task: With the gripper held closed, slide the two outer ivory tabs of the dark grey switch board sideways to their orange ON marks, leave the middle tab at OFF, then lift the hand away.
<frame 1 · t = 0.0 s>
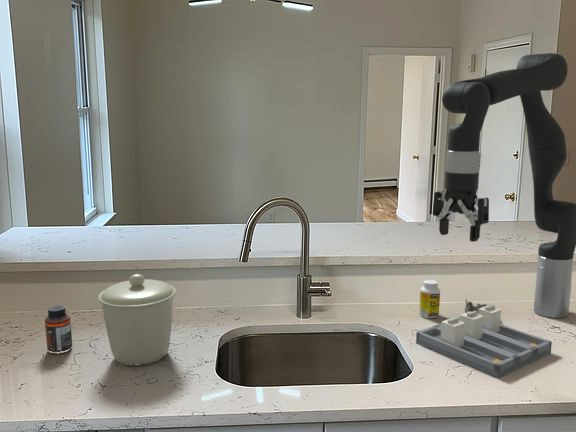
hand: (458, 237, 138), 29 cm above the worktop, tool pointing down, fingers open, 8 cm apart
switch board: (481, 348, 146), on the worktop
supplement bottle: (429, 316, 169), on the worktop
tab 3: (452, 332, 144), point 5 cm above the worktop, slide at 0.0 cm
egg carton: (479, 319, 166), on the worktop
tab 1: (489, 318, 152), point 5 cm above the worktop, slide at 0.0 cm
supplement bottle 2: (60, 350, 147), on the worktop
canister: (141, 357, 143), on the worktop
tab 2: (471, 325, 148), point 5 cm above the worktop, slide at 0.0 cm
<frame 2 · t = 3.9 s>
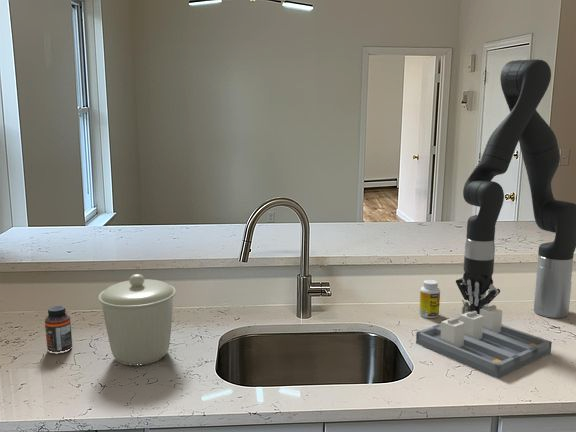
hand: (475, 317, 156), 4 cm above the worktop, tool pointing down, fingers closed
tab 1: (490, 319, 152), point 5 cm above the worktop, slide at 0.4 cm, touching gripper
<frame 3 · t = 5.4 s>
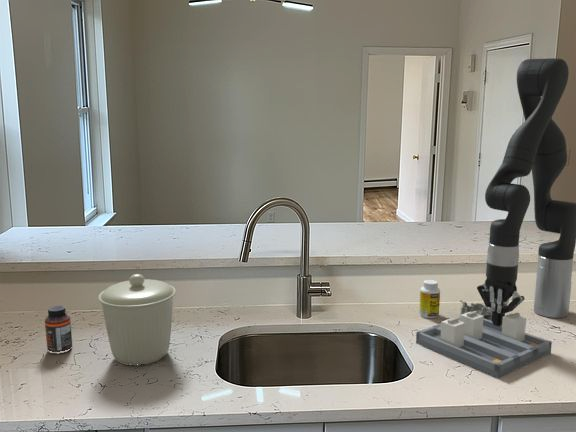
hand: (497, 325, 151), 4 cm above the worktop, tool pointing down, fingers closed
tab 1: (513, 326, 147), point 5 cm above the worktop, slide at 7.2 cm, touching gripper
everything else where it was.
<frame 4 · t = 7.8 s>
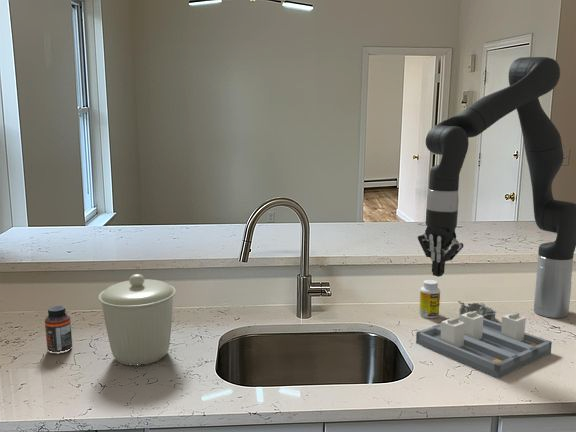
hand: (437, 275, 146), 18 cm above the worktop, tool pointing down, fingers closed
tab 1: (513, 326, 147), point 5 cm above the worktop, slide at 7.0 cm
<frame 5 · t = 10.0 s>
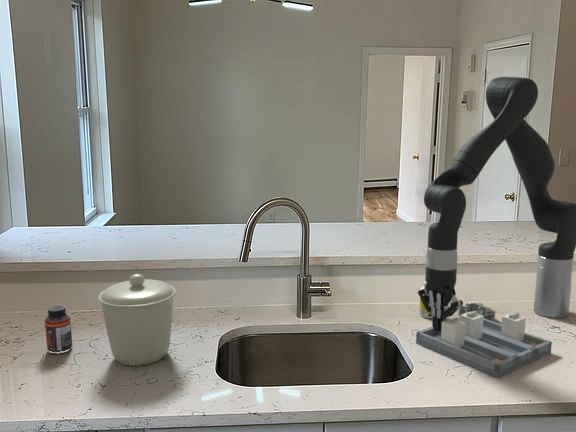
hand: (438, 330, 147), 4 cm above the worktop, tool pointing down, fingers closed
tab 3: (453, 332, 144), point 5 cm above the worktop, slide at 0.2 cm, touching gripper
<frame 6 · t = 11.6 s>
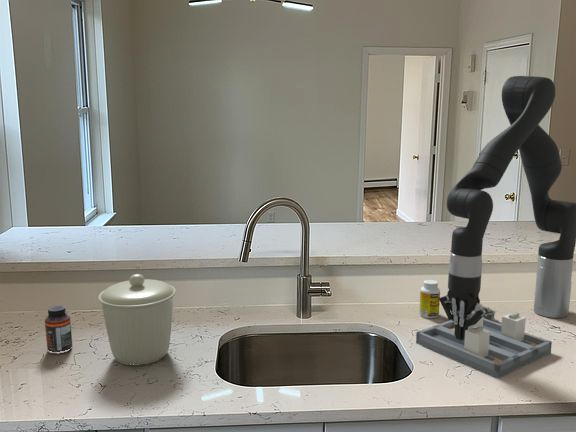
hand: (460, 338, 142), 4 cm above the worktop, tool pointing down, fingers closed
tab 3: (476, 341, 138), point 5 cm above the worktop, slide at 7.1 cm, touching gripper
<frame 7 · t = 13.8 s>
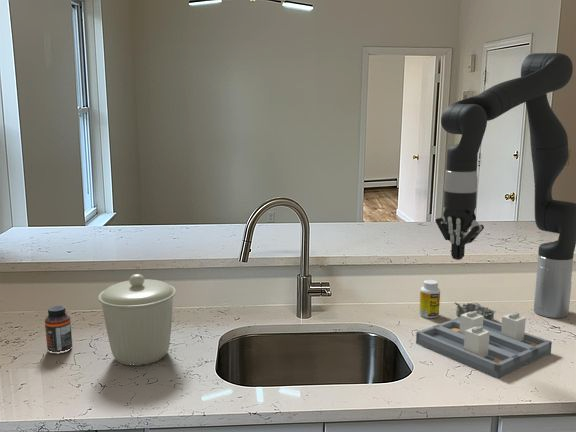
hand: (457, 258, 142), 23 cm above the worktop, tool pointing down, fingers closed
tab 3: (476, 341, 138), point 5 cm above the worktop, slide at 7.0 cm
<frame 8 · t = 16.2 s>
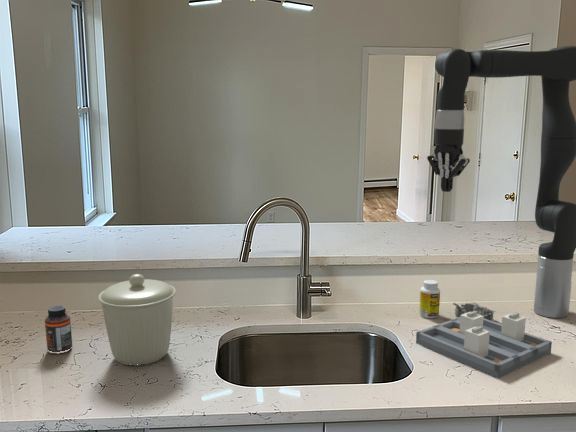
hand: (446, 191, 158), 37 cm above the worktop, tool pointing down, fingers closed
at the end: tab 1 slide at 7.0 cm; tab 3 slide at 7.0 cm; tab 2 slide at 0.0 cm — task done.
